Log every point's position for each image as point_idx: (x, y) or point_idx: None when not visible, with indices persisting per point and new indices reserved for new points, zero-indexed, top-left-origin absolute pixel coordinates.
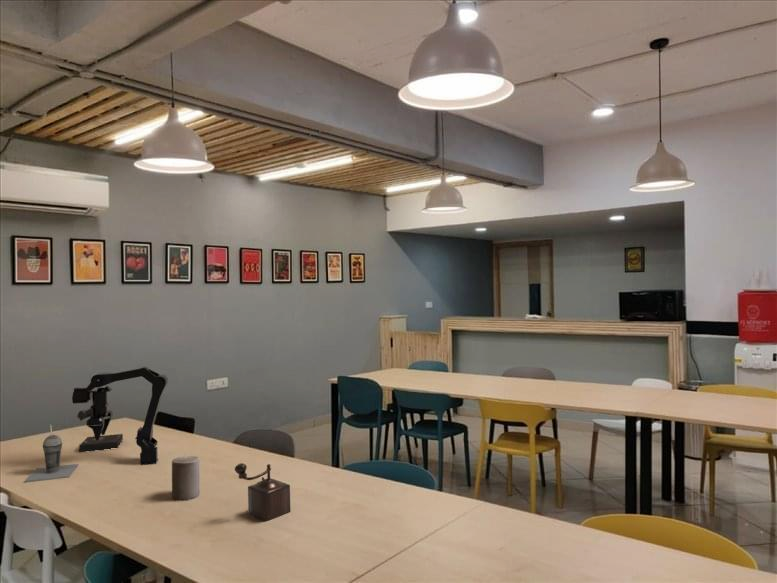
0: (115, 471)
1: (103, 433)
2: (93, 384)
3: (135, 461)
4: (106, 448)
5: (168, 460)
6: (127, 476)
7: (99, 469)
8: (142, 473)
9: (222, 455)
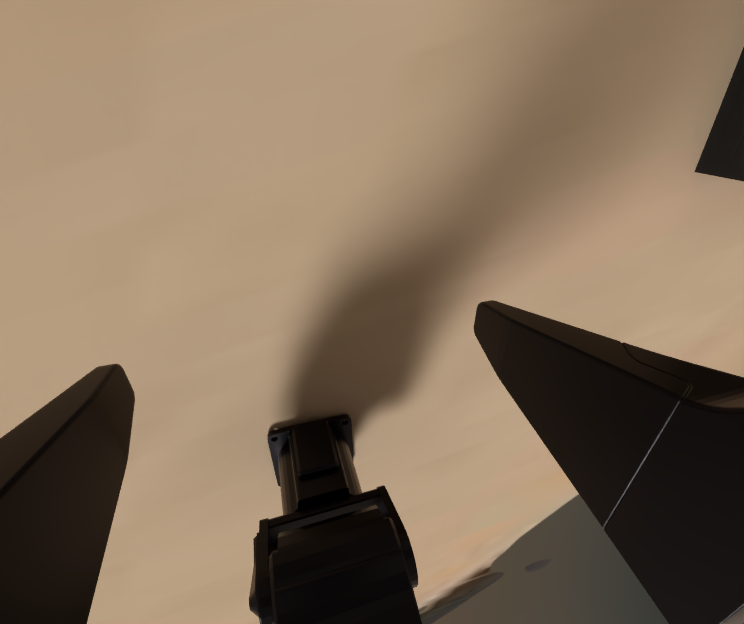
0: (141, 352)
1: (483, 336)
2: None
3: (355, 377)
4: (734, 97)
5: None
6: None
7: (206, 219)
8: None
9: None
